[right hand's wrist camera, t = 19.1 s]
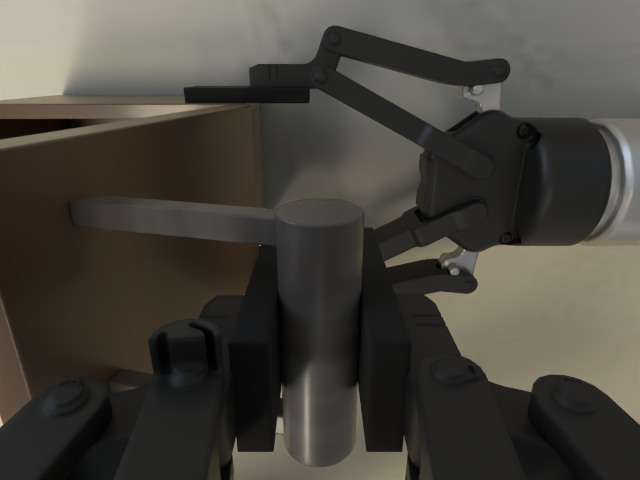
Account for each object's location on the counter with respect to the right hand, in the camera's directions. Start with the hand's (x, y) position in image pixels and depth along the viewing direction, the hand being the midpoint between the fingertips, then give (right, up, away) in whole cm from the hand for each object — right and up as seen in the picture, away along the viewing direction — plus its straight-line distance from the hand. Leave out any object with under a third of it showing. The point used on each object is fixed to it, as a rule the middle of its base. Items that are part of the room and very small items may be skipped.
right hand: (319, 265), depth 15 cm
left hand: (-7, +4, +11) cm, 14 cm away
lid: (-6, +1, +2) cm, 7 cm away
